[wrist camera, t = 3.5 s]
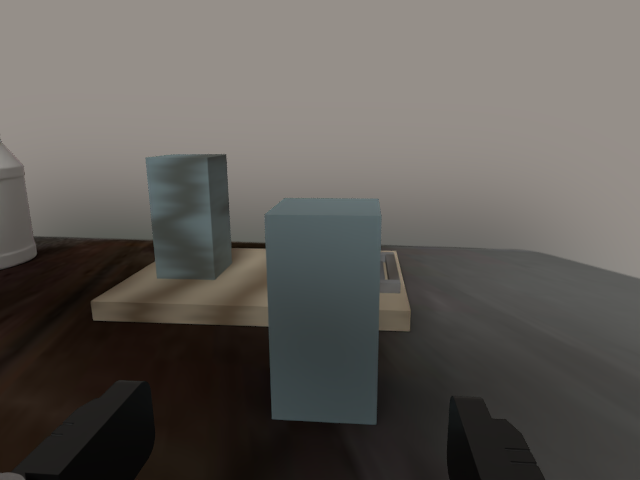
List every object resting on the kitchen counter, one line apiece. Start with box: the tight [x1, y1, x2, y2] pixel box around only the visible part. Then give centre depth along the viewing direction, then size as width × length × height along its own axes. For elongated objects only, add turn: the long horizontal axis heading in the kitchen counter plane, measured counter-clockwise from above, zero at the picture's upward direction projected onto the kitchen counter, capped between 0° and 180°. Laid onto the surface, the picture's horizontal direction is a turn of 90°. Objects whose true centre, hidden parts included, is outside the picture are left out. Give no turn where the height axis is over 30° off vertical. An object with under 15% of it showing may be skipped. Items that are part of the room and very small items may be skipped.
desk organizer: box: [91, 154, 411, 331], centre depth 39 cm, size 23×16×12 cm
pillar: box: [265, 198, 381, 425], centre depth 23 cm, size 5×5×10 cm
